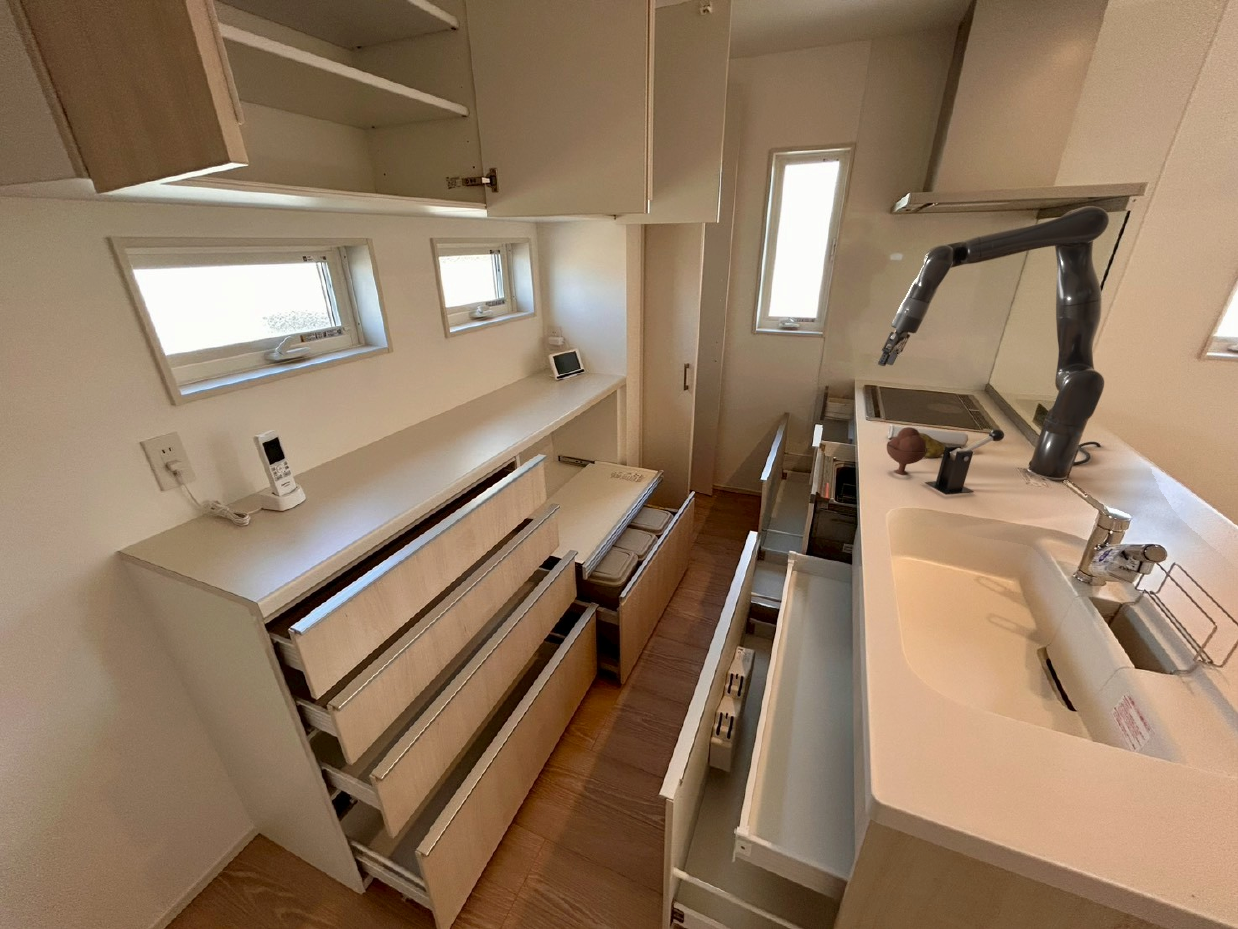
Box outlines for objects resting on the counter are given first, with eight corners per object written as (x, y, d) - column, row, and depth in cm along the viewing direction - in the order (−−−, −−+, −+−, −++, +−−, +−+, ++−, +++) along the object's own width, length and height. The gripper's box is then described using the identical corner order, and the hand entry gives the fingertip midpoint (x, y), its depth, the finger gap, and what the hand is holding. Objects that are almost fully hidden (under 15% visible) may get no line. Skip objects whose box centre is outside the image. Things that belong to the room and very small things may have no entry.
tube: (966, 432, 178) (889, 424, 185) (972, 432, 172) (892, 424, 180) (964, 447, 178) (887, 438, 186) (969, 447, 173) (890, 438, 181)
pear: (949, 462, 162) (955, 439, 159) (904, 458, 166) (910, 435, 163) (942, 453, 169) (948, 431, 166) (900, 449, 173) (905, 427, 170)
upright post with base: (950, 483, 147) (961, 442, 142) (972, 495, 140) (985, 452, 135) (923, 485, 145) (934, 444, 141) (944, 497, 138) (956, 455, 133)
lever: (997, 435, 140) (996, 425, 139) (1008, 439, 137) (1006, 429, 136) (949, 459, 141) (947, 450, 139) (958, 464, 138) (957, 454, 136)
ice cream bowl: (872, 471, 155) (882, 425, 150) (899, 466, 159) (909, 421, 153) (901, 484, 146) (912, 436, 140) (928, 479, 150) (941, 432, 144)
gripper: (917, 318, 145) (890, 370, 152) (928, 319, 155) (902, 368, 162) (891, 310, 149) (866, 361, 156) (904, 311, 159) (880, 359, 166)
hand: (884, 364), depth 159 cm, fingers open, 8 cm apart
